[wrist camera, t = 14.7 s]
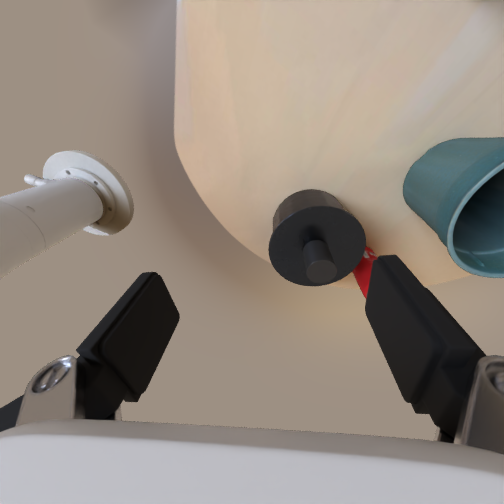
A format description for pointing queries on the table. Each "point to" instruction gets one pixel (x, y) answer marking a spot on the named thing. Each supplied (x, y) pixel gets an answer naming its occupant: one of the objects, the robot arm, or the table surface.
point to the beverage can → (364, 270)
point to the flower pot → (463, 200)
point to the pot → (303, 203)
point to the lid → (317, 245)
